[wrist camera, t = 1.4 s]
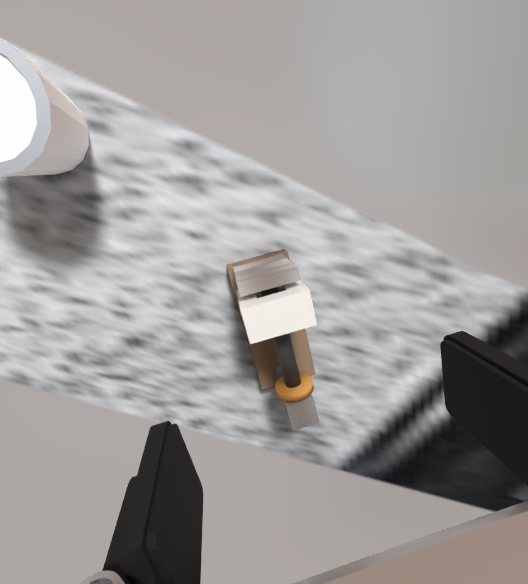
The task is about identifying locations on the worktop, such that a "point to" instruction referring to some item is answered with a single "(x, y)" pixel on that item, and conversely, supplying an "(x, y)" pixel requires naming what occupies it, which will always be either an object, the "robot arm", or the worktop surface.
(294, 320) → the sleeve
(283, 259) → the wooden stand
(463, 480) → the worktop surface
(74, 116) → the shot glass
